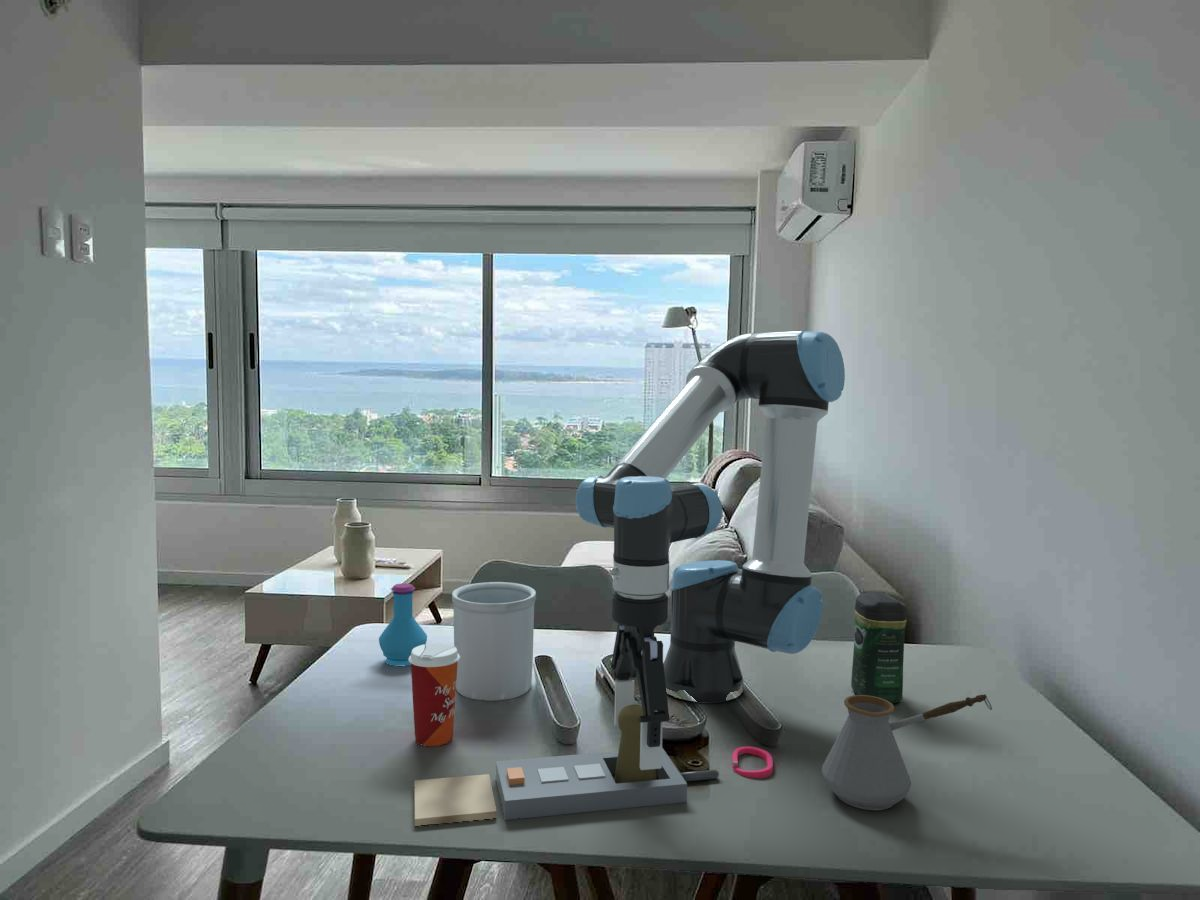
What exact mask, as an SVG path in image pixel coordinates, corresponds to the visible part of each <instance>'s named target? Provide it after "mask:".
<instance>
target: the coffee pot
mask: <svg viewBox="0 0 1200 900" xmlns="http://www.w3.org/2000/svg"><path fill="white" fill-rule="evenodd" d="M982 702H984V703H985V705H986V707H987V708H988V709H989V710H990V711H992V710H993V706H992V704H991V702H990V701H989V699H988V696H987V694H979V695H976V696H974V697H969V696H967V697H966V698H965V700H964V699H963V700H959V701H958V700H957V701H952V702H948V703H945V704H943V705H940V706H937V707H935V708H932V709H930V710H927V711H924V712H921V713H919V714H917V715H914V716H911V717H906V718H903V719H899V720H896V721H893V722H890V721H889V720H890V717H891V714H893V713H894V711H895V706H894V703H890V702H889V701H887V700H884V699H882V698H878V697H874V696H868V695H857V694H856V695H850V696H847V697H845V699H844V701H843V703H844V706H845V708H847V714H848V717H847V718H846V720H845V722H844V724H843V726H842V728H841V729H840V731H839V733H838V734H837V738H836V740H835V741H834V743H833V745H832V746H831V749H830V750H829V753H828V755H827V756H826V758H825V760H824V762H823V764H822V767H821V773H822V774H821V775H822V777H823V779H824V782H825V783H826V785H827V787H828V788H829V789H830V790H831V791H832V792H833V793H834V794H835V795H836V797H837V798H838V799H839V800H840V801H842V802H844V803H845V804H847V805H849V806H851V807H854V808H857V809H862V810H867V811H868V810H869V811H883V810H887V809H889V808H892V807H893V806H894V805H895V804H898V803H899V802H901V800H903V799H904V798H906V796H907V795H908V793H909V792H910V789H911V785H912V781H911V778H910V775H909V774H910V773H909V772H908V770H907V769H908V768H906V764H905V762H904V759H903V757H902V754H901V752H900V749H899V748H900V747H899V746H898V742H897V740H896V738H895V735H894V732H893V731H894V730H895V731H896V730H899V729H901V728H904V727H907V726H909V725H913V724H915V723H919V722H921V721H925V720H929V719H932V718H937V717H940V716H944V715H948V714H949V715H950V714H953V713H956V712H957V711H960V710H961V709H963V708H966V707H973V705H974V704H976V703H982Z"/></svg>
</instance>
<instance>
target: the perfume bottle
mask: <svg viewBox="0 0 1200 900" xmlns="http://www.w3.org/2000/svg"><path fill="white" fill-rule="evenodd" d="M415 589H416V587H415V586H414V585H413V584H411V583H405V582H404V583H396V584H394V585H393V586H392V587H391V588H390V591H392V595H393V618H392V619H391V620H390V622H389V623H388V625H387V626H386V627H385V629H384V630H383V631H382V633H381V634H380V636H378V642H379V648H380V650H381V652H382V654H383V655H382V656H384V657H385V658H386V659H385V663H386V662H387V663H388V664H391V665H410V664H411V663H410V662H409V657H410V656H411V652H412V650H413V649H414V648H415V647H417V646H420V645H424V644H427V640H428V639H427V638H428V635H427V633H426V632H425V630H424V629H423V627H422V626H420V624H419V623H418V621H417V620H416V619H415V618H414V616H413V595H414V590H415ZM388 664H387V665H388ZM410 666H411V665H410Z"/></svg>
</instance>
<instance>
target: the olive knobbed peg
mask: <svg viewBox="0 0 1200 900" xmlns="http://www.w3.org/2000/svg"><path fill="white" fill-rule="evenodd" d="M640 716H643V710H642V704H635V703H634V705H628V706H626V707H624V708H622V710H621V711H620V713H619V716H618V724H619V726H618V727H619V730H620V732H621V735H620V742H619V747H618V751H619V752H618V758H617V765H616V771H615V774H614V777H613V779H614V781H615V783H616V784H618V783H629V782H640V781H650V780H658V779H657V778H658V777H657V775H656V769H648V770H641V769H640V732H641V723H639V720H638V719H639V717H640Z"/></svg>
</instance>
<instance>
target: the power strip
mask: <svg viewBox="0 0 1200 900" xmlns="http://www.w3.org/2000/svg"><path fill="white" fill-rule="evenodd" d="M618 752H619V750H616V751H604V752H592V753H591V752H590V753H581V754H580V753H579V754H570V755H569V754H568V755H557V756H556V755H555V756H543V757H532V758H530V757H529V758H520V759H506V760H497V761H495V781H496V786H497V789H498V795H499V799H501V800H500V804H502V805H501V809H503V810H502V813H504V814H503V818H504V819H503V820H504V821H509V820H510V819H511V820H518V818H520V819H528V818H537V817H538V818H541V817H549V816H560V815H568V814H569V815H571V814H581V813H588V812H589V813H590V812H600V811H608V810H609V811H611V810H620V809H630V808H639V807H650V806H661V805H669V804H670V805H671V804H680V803H687V799H688V783H687V782H696V781H706V780H707V781H708V780H716V779H718V778H719V777H720V773H719V771H718V770H717V769H707V770H695V771H685V772H680V770H679V769H678V768H677V767H676V765H675V763H674V762H673V761H672V759H671V758H670V756H669V755H668V754H667V752H666V751H665V749H664V748H663V747H662V767H661V768H660V769H656V778H658V779H657V780H650V781H640V782H629V783H618V784H616V783H615V781H614V777H613V775H615V771H616V765H617V758H618Z"/></svg>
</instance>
